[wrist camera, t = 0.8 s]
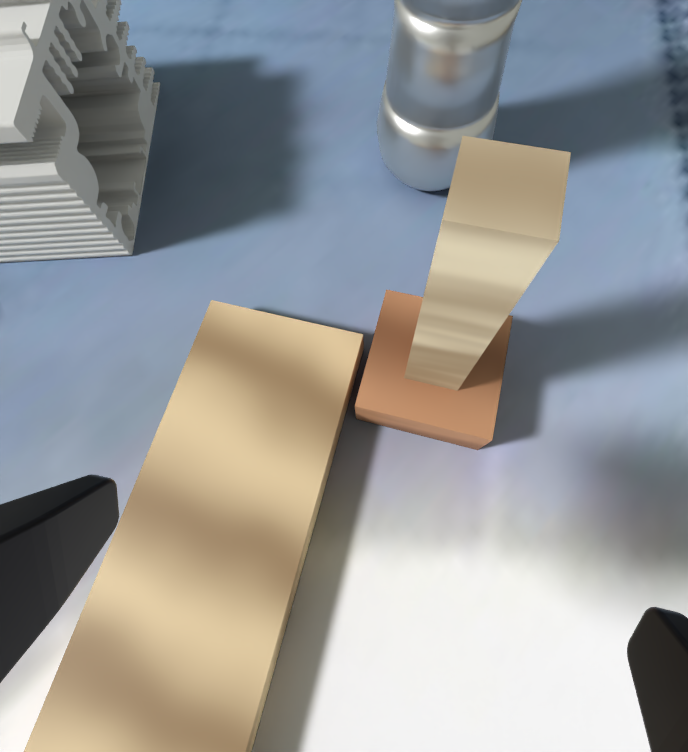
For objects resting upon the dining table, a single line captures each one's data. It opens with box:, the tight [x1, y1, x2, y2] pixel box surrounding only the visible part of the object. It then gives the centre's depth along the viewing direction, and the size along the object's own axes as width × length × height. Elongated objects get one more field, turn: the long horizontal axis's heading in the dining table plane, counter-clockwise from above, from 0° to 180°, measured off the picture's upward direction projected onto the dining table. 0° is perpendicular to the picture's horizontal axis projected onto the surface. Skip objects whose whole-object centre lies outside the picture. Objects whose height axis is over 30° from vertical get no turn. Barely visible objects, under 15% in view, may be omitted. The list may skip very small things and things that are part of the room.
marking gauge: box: [355, 136, 571, 450], centre depth 15 cm, size 6×6×13 cm
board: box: [24, 300, 364, 752], centre depth 19 cm, size 22×8×2 cm, turn 165°
